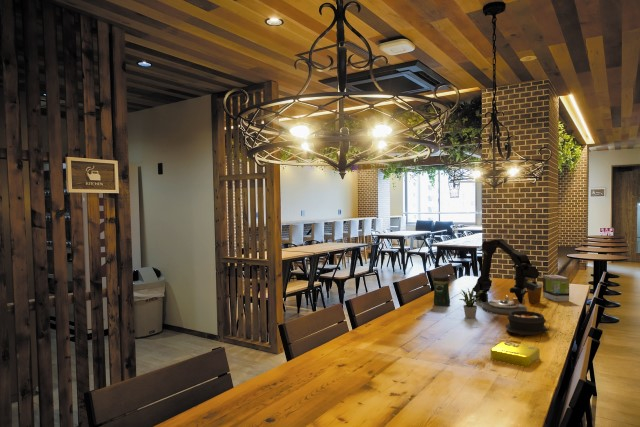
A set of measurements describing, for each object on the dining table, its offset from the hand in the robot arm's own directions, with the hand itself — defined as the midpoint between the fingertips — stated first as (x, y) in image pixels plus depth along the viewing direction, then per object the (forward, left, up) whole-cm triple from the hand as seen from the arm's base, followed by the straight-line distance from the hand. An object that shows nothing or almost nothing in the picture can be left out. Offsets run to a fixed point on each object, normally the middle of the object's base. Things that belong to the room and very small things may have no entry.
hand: (520, 303), depth 249 cm
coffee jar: (-44, -6, -5) cm, 45 cm away
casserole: (+12, -39, -5) cm, 41 cm away
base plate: (-9, +1, -5) cm, 11 cm away
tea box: (+10, +49, -5) cm, 50 cm away
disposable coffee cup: (+1, +31, -5) cm, 31 cm away
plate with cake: (-8, +1, -3) cm, 9 cm away
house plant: (-18, -28, -5) cm, 34 cm away
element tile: (+17, -82, -6) cm, 83 cm away
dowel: (-10, +11, -3) cm, 15 cm away
